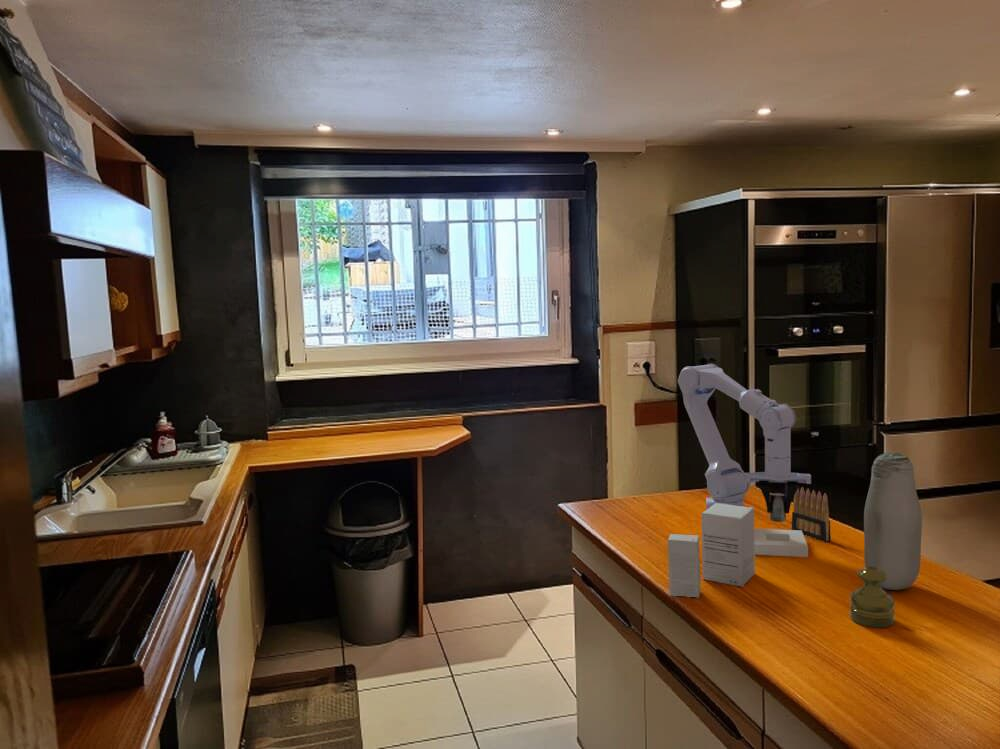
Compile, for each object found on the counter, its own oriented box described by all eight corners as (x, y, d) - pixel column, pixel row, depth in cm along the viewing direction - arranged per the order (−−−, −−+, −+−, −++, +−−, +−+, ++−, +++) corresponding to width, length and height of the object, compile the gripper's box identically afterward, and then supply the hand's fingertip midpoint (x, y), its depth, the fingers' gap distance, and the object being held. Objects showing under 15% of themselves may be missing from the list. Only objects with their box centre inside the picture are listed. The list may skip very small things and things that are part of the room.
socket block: (753, 554, 176) (753, 544, 176) (750, 538, 188) (750, 528, 188) (808, 557, 173) (808, 546, 173) (801, 540, 185) (801, 530, 185)
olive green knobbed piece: (892, 632, 135) (893, 578, 134) (847, 623, 139) (847, 571, 138) (896, 616, 141) (896, 564, 140) (852, 609, 145) (852, 558, 144)
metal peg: (770, 521, 179) (770, 496, 178) (769, 517, 182) (769, 493, 181) (786, 522, 178) (786, 497, 177) (785, 517, 181) (784, 493, 181)
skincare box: (700, 591, 157) (699, 535, 155) (699, 599, 153) (698, 541, 151) (671, 588, 159) (669, 533, 157) (668, 596, 155) (667, 539, 153)
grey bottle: (874, 574, 161) (875, 446, 158) (926, 586, 154) (929, 452, 151) (856, 588, 154) (857, 454, 152) (910, 601, 147) (912, 461, 144)
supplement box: (715, 566, 170) (714, 501, 168) (755, 573, 165) (755, 507, 163) (701, 579, 163) (700, 512, 161) (742, 587, 157) (742, 518, 156)
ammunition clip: (830, 541, 184) (831, 493, 182) (825, 542, 183) (825, 494, 182) (796, 529, 193) (796, 484, 192) (791, 530, 192) (791, 485, 191)
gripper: (746, 459, 176) (746, 515, 178) (812, 460, 173) (812, 517, 174) (744, 452, 183) (745, 507, 185) (808, 453, 179) (808, 509, 181)
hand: (777, 511), depth 180 cm, fingers closed on metal peg, 3 cm apart
